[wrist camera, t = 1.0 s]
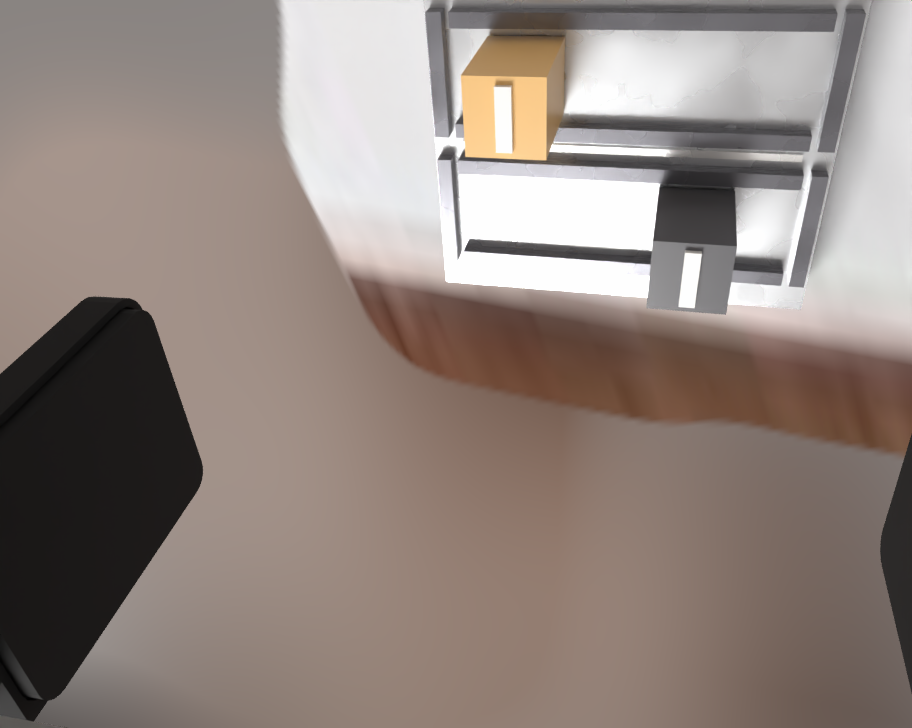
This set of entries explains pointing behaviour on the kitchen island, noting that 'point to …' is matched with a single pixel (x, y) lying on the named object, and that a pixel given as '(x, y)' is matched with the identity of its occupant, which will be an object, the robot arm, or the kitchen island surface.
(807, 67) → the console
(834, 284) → the kitchen island surface
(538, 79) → the fader
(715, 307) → the fader
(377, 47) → the kitchen island surface
